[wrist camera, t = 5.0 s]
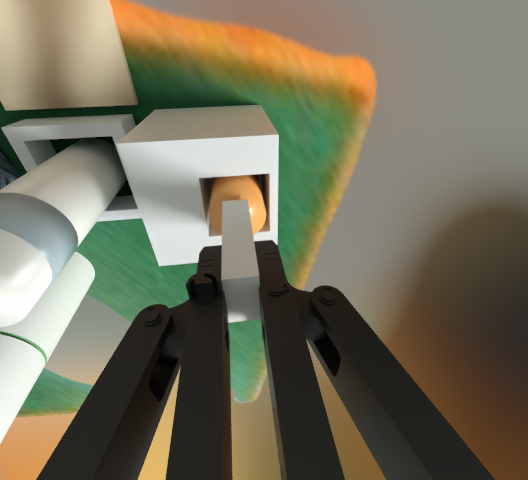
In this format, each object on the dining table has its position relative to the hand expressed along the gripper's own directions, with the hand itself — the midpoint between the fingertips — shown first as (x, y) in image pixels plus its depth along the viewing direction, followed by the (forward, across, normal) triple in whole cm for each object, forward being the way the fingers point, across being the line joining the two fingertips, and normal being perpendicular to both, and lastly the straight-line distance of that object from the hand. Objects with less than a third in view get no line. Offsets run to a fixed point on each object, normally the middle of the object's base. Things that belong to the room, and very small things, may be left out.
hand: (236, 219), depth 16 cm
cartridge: (+12, -12, 0) cm, 17 cm away
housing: (+12, -7, 0) cm, 14 cm away
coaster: (+12, -12, +10) cm, 20 cm away
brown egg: (+6, 0, 0) cm, 6 cm away
